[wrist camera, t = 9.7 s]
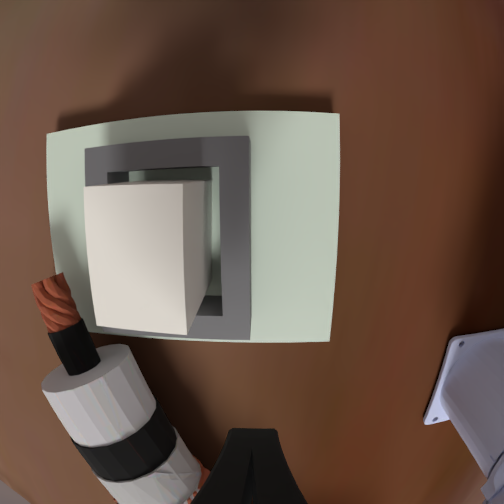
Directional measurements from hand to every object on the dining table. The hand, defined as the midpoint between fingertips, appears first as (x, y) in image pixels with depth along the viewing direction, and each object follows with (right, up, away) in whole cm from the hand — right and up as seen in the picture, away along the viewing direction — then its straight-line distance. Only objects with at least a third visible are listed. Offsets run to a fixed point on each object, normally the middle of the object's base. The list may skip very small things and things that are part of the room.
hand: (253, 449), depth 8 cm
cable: (-6, -10, +13) cm, 17 cm away
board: (-4, +7, +9) cm, 12 cm away
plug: (-4, +7, +7) cm, 11 cm away
